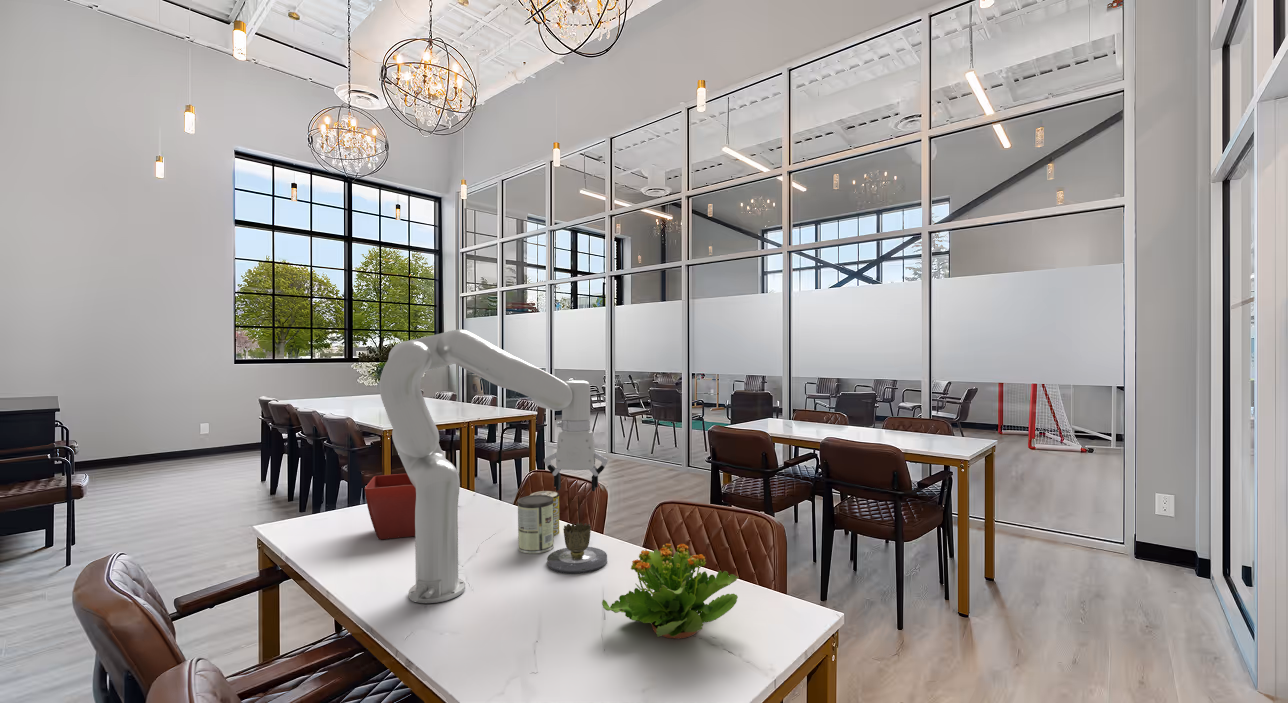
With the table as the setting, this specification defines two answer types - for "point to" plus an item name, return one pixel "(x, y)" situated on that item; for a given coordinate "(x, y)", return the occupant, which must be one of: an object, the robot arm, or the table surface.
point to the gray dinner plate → (577, 561)
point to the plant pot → (391, 505)
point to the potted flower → (674, 593)
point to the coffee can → (535, 524)
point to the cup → (577, 538)
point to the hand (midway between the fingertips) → (575, 489)
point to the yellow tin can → (555, 508)
